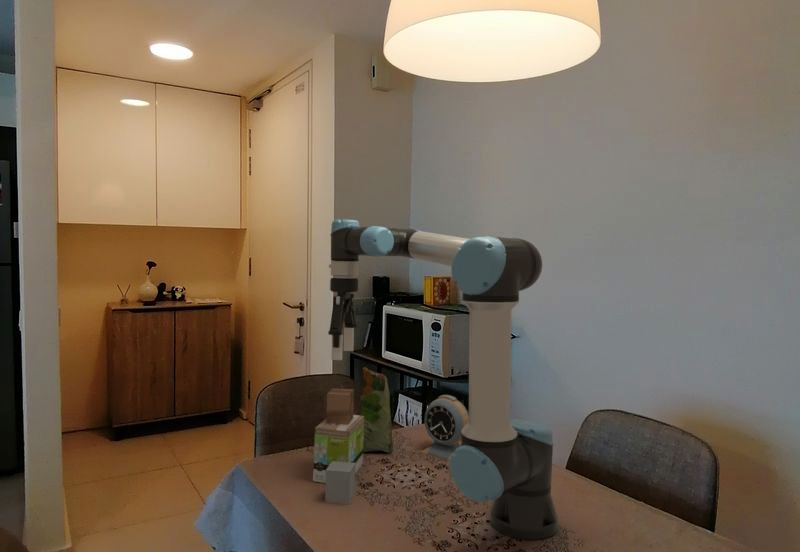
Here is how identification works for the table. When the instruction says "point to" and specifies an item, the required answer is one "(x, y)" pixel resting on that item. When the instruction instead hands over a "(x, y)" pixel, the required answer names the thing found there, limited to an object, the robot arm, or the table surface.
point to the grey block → (340, 482)
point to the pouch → (376, 412)
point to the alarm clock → (445, 425)
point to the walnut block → (340, 406)
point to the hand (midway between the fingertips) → (342, 355)
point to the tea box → (338, 445)
